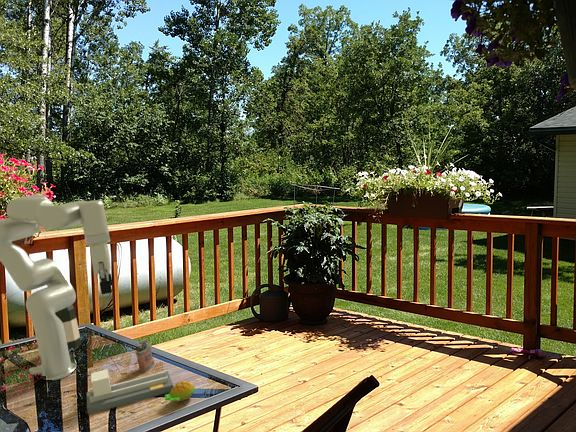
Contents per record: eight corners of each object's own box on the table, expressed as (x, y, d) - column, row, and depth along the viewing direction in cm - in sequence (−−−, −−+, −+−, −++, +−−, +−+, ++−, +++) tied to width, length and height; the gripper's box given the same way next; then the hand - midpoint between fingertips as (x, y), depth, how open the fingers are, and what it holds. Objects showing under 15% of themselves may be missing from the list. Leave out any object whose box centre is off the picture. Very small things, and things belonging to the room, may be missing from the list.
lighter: (146, 373, 190) (141, 345, 188) (137, 373, 191) (132, 346, 189) (156, 362, 198) (151, 336, 196) (147, 363, 199) (142, 337, 197)
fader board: (88, 414, 165) (86, 403, 165) (87, 397, 177) (85, 387, 176) (174, 390, 174) (172, 380, 173) (168, 376, 185) (167, 366, 184)
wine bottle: (64, 346, 227) (50, 276, 222) (84, 343, 227) (71, 273, 223) (57, 354, 219) (43, 282, 214) (79, 350, 219) (64, 278, 214)
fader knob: (95, 401, 168) (91, 381, 167) (94, 392, 175) (91, 373, 174) (112, 397, 170) (108, 377, 169) (111, 387, 176) (107, 369, 175)
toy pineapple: (200, 395, 169) (198, 378, 168) (177, 411, 161) (174, 394, 160) (185, 391, 173) (182, 375, 172) (161, 406, 165) (158, 390, 164)
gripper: (87, 236, 184) (97, 285, 187) (83, 245, 168) (93, 298, 171) (110, 232, 186) (119, 281, 189) (108, 241, 170) (118, 293, 173)
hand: (107, 289), depth 180 cm, fingers open, 9 cm apart
